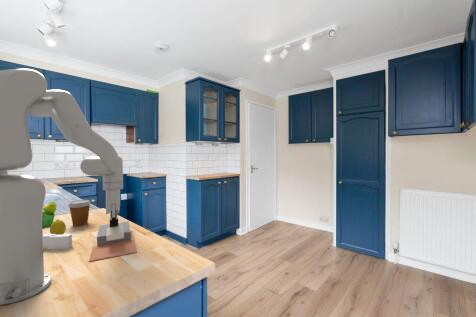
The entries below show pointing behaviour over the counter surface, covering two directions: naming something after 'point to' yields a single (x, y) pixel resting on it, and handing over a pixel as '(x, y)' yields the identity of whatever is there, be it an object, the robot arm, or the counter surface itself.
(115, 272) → the counter surface
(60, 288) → the counter surface
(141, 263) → the counter surface
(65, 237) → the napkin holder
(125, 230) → the grey block
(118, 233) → the tile
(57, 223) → the lemon
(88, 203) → the disposable coffee cup
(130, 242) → the mat
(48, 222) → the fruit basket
